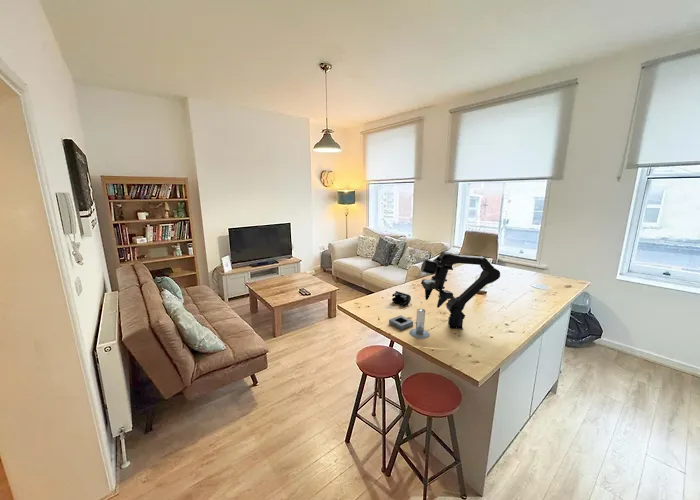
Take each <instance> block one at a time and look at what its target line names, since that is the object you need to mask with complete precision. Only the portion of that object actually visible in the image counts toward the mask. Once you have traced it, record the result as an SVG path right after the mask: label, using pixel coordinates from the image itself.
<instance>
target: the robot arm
mask: <svg viewBox="0 0 700 500" xmlns="http://www.w3.org/2000/svg"><path fill="white" fill-rule="evenodd" d="M457 264H465V265H475V266H476V265H477V266H479V267H480V269H482V271H481V272H480V275H479V277H478V278H477V279H476V280H475V281H473V283H472V284H470V286H469V287H468V288H466V289H465V290H464V291H463V292H462V293H461V294H460V295H459V296H457V297H455V296H454V293H453V292H451V291H450V290H448V289H446V290H445V286H444V285H445V283H446V282H447V281H448V279H447V276H448V272H449V270H450V271H453V270H454V268H453V266H452V265H457ZM420 271H421V273H426V274H430V275H432V276H431V278H428V279H427V278H426V279H425V278H424V279H422V280H421V284H420V285H422V286H421V287H422V288H423V289H424V297H425V300H426V301H428V299H429V298H430V296H431V294H432V292H433V290H435V291H437V292H438V295H437V296H438V301H437V304H436V308H437V309H439V308H440V307H441V306H442V305H443V304H445V302H446V301H447V302H446V304H445V305H446V306H445V307H446V309H447V310H448V311H449V316H448V319H447V324H448V326H449V328H450V329H456V330H464V327H463V324H464V320H465V318H466V315H465V314H464V312H463V311H464V308H465V306H466V304H467V303H468V302H469V301H470V300H472V298H473V297H475V296H476V295H477V294H478V293H479V292H480V291H481V290H483V288H485V287H486V286H487V285H489V284H492V283H494V282H496V281H498V280H499V279H500V278H501V272H500V270H498V269H497V268H495V267H494V265H492V263H490V261H488V259H487V258H486V257H484V256H481V255H480V256H475V255H462V254H456V253H453V252H451V251H450V252H449V251H441V252H440V253H439V255H438V256H437V257H436V258H434V259H433V260H431V259H428V258H424V260H423V262H422V263H421V266H420ZM433 274H434V275H433Z"/></svg>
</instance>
